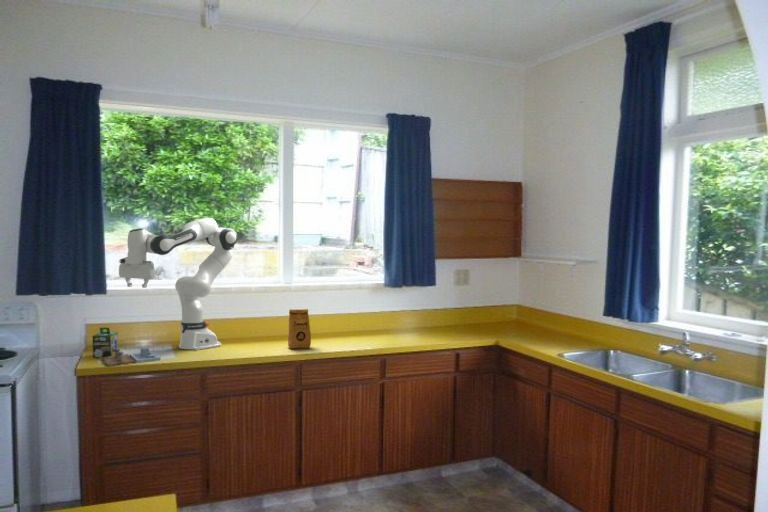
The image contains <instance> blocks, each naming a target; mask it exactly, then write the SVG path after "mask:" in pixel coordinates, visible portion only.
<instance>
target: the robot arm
mask: <svg viewBox="0 0 768 512" xmlns="http://www.w3.org/2000/svg"><path fill="white" fill-rule="evenodd" d="M204 239H205V241H206V242H207V244H208V245H210V246H212V247H214V249H213V251H212V252H211V253H210V254H209V255H208V256H207V257H206V258H204V260H203V261H202V262H201V264H199V266H198V271H197V272H196V274H195V275H194V276H187V275H186V276H182V277H179V278H178V279H177V280H176V282H175V284H174V286H175V290H176V291H177V294H178V296H179V301H180V306H181V323H180V332H181V333H180V334H181V337H180V342H179V345H178V348H179V349H180V350H181V349H182V350H193V351H200V350H205V349H212V348H218V347H221V346H222V342H220V341H218V337H217V335H216V333H215V332H213V331H212V330H211V329H209V328H207V327H209V326H210V323H209V322H208V321H204V308H203V307H204V306H203V305H202V303H201V300H200V299H201V298H206V297H207V296H208V295H209V294H210V293H211V286H212V284H213V282H214V281H215V279H216V278H217V277H218V276H219V274H220V273H221V272H222V271H223V270H224V269H225V268H226V267H227V266H228V264H229V263H230V261H231V260H232V259H233V252H232V250H233V249H234V248H235V245H236V243H237V241H238V233H237V232H236V231H235V230H234V229H232V228H230V227H219V226H218V224H217V222H216V220H215V219H214V218H212V217H205V218H199V219H194V220H192V221H190V222H187V223H185V224H184V225H183V226H182V231H180V232H178V233H174V234H172V235H166V234H165V235H163V234H160V235H158V234H157V235H156V234H154V233H152V232H149V231H147V230H146V229H145V228H133V229H131V230H129V232H128V234H127V248H128V251H127V256H125V257H123V258H120V259H119V261H118V262H119V265H118V266H119V267H118V276H119V278H123V279H124V280H125V282H126V284H127V285H126V286H127V287H128V288H129V287H130V288H132V287H133V283H132V282H131V279H140V280H142V279H143V281H144V282H143V284H142V285H141V288H143V289H145V288H148V283H149V281H150V280H154V279H155V277H156V272H155V271H156V270H155V264H154V263H153V261H151V260H147V253H149V254H154V255H155V254H156V255H159V256H166V255H168V254H169V253H171V252H172V251H173V250H174V249H175V248H177V247H180V246H182V245H184V244H187V243H193V242H197V241H201V240H204Z"/></svg>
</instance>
